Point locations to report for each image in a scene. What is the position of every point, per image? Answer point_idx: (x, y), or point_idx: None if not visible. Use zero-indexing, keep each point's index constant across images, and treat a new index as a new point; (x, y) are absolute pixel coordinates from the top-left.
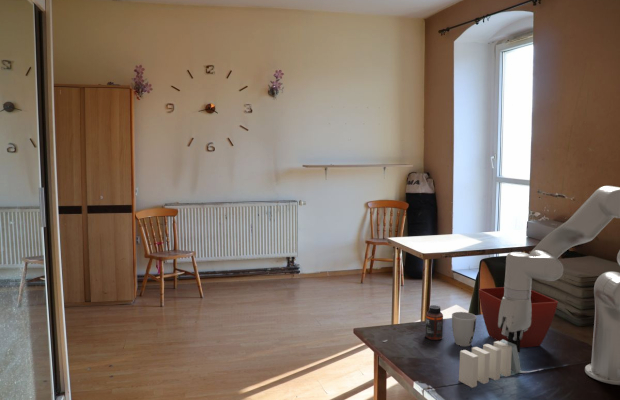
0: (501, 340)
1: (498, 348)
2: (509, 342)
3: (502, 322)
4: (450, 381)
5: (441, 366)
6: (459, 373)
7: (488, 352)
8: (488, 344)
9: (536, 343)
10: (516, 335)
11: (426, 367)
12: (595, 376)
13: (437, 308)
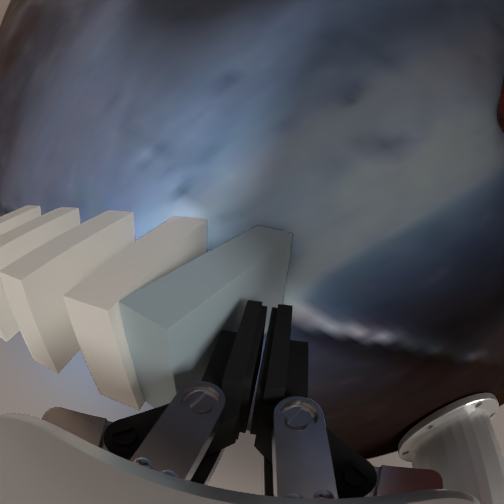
0: (148, 323)
1: (49, 359)
2: (171, 390)
3: (8, 495)
4: (12, 196)
5: (41, 86)
6: (8, 214)
7: (2, 335)
8: (21, 290)
9: None
10: (206, 474)
11: (14, 81)
12: (406, 440)
13: None
